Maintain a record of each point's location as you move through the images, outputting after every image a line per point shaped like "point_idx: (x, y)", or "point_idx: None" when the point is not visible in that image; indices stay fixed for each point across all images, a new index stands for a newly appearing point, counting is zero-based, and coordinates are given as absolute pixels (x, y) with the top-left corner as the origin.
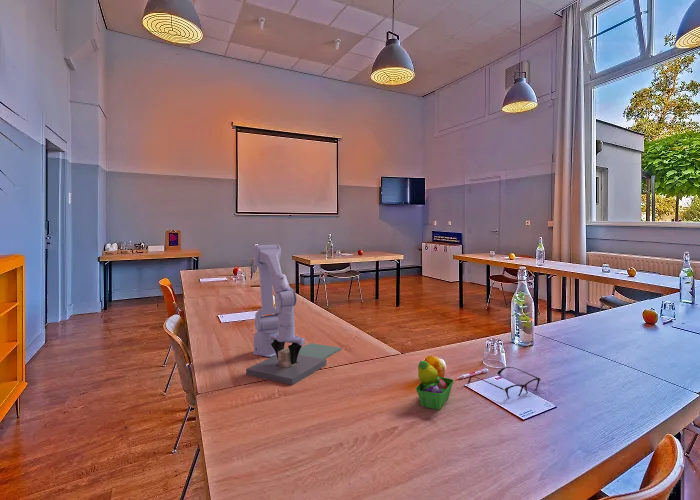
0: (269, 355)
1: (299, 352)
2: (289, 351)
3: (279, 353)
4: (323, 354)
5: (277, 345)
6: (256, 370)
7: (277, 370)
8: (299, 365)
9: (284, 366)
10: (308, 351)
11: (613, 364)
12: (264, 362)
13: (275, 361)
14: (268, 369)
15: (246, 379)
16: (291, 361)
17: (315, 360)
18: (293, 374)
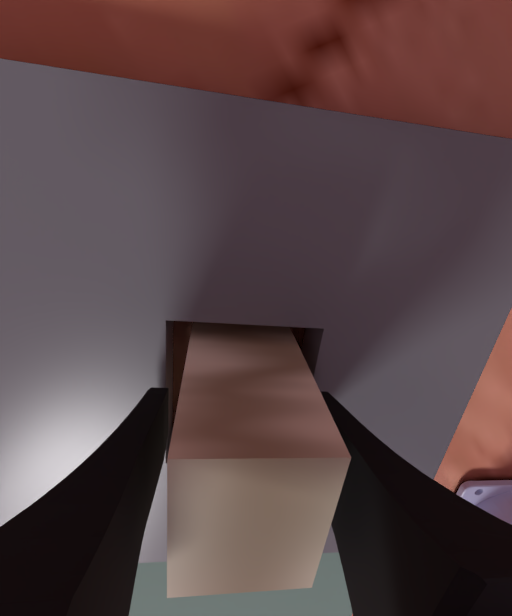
0: (478, 493)
1: (314, 582)
2: (184, 519)
3: (315, 437)
4: (154, 612)
5: (422, 574)
6: (453, 149)
7: (228, 232)
8: (112, 414)
9: (225, 344)
10: (271, 607)
11: None
12: (456, 356)
13: (371, 406)
14: (339, 224)
15: (481, 37)
16: (152, 402)
17: None
18: None
